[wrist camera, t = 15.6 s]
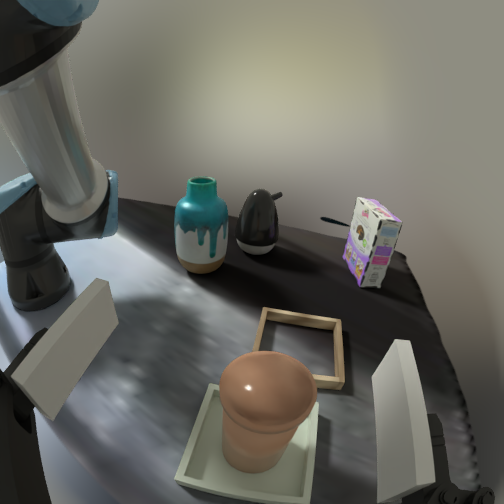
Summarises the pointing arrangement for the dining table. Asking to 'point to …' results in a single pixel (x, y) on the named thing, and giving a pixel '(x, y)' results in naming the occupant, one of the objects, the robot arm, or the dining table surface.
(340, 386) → the oak corral
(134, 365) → the dining table surface
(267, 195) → the pump dispenser
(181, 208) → the vase
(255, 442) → the canister
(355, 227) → the candy box
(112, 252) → the dining table surface
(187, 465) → the green tray
